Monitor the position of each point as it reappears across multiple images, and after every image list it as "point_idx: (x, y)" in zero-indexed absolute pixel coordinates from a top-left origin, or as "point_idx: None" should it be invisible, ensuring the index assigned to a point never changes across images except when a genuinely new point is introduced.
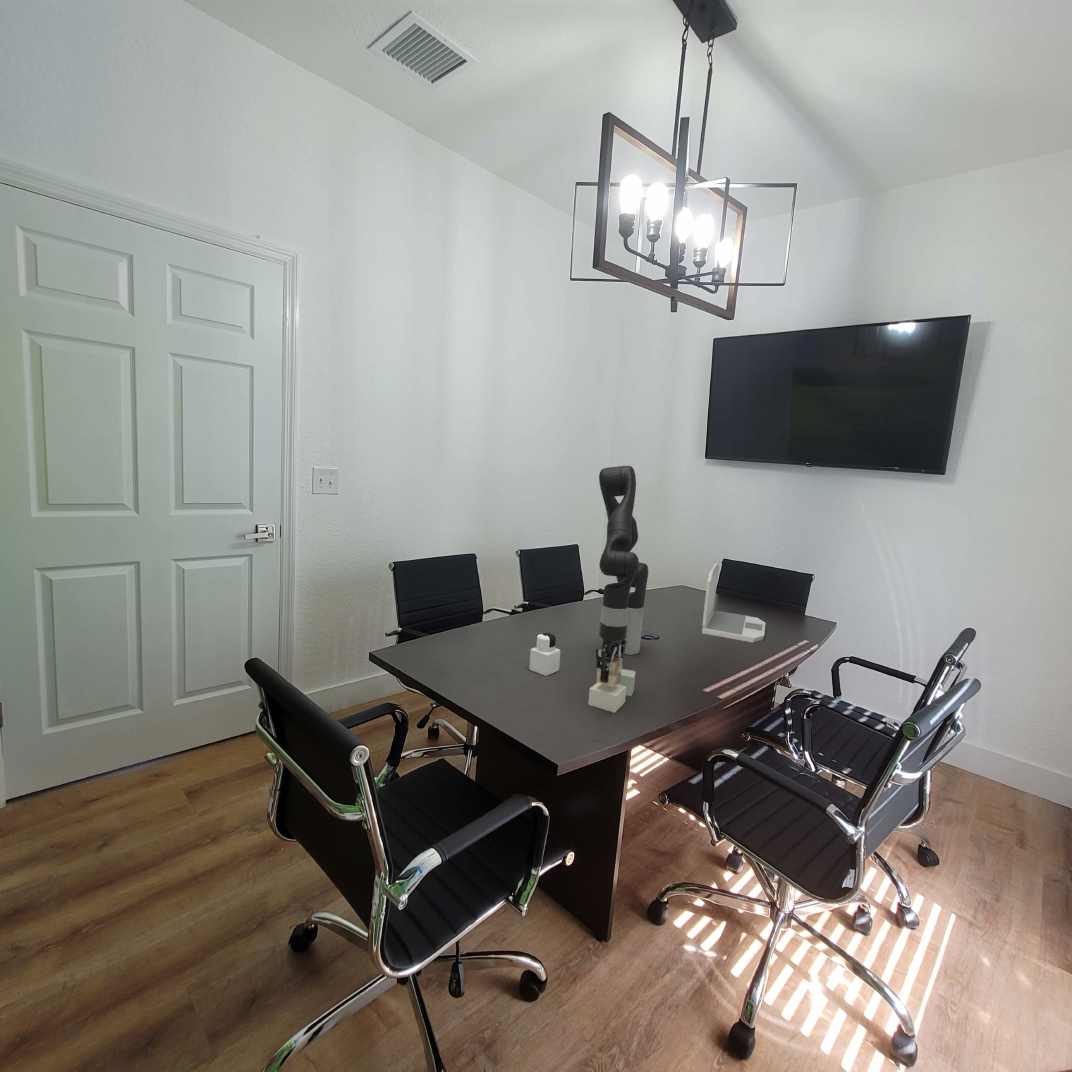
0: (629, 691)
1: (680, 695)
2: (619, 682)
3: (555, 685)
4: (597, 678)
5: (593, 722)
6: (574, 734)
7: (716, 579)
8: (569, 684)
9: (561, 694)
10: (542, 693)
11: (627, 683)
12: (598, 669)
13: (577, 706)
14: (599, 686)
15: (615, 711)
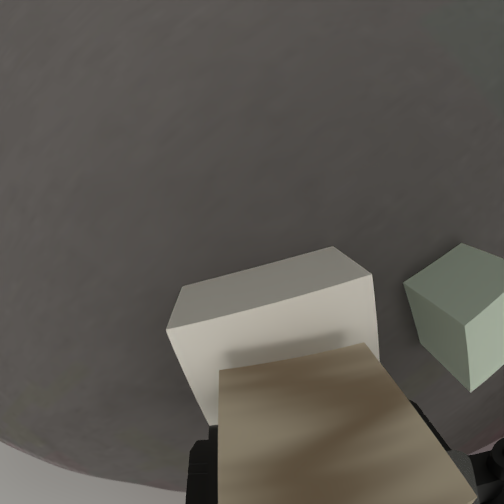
0: (428, 345)
1: (493, 399)
2: (440, 321)
3: (222, 12)
4: (220, 396)
5: (89, 392)
6: (2, 384)
7: None
8: (301, 48)
9: (154, 106)
10: (88, 50)
11: (447, 354)
12: (222, 463)
13: (118, 265)
14: (257, 348)
15: None
